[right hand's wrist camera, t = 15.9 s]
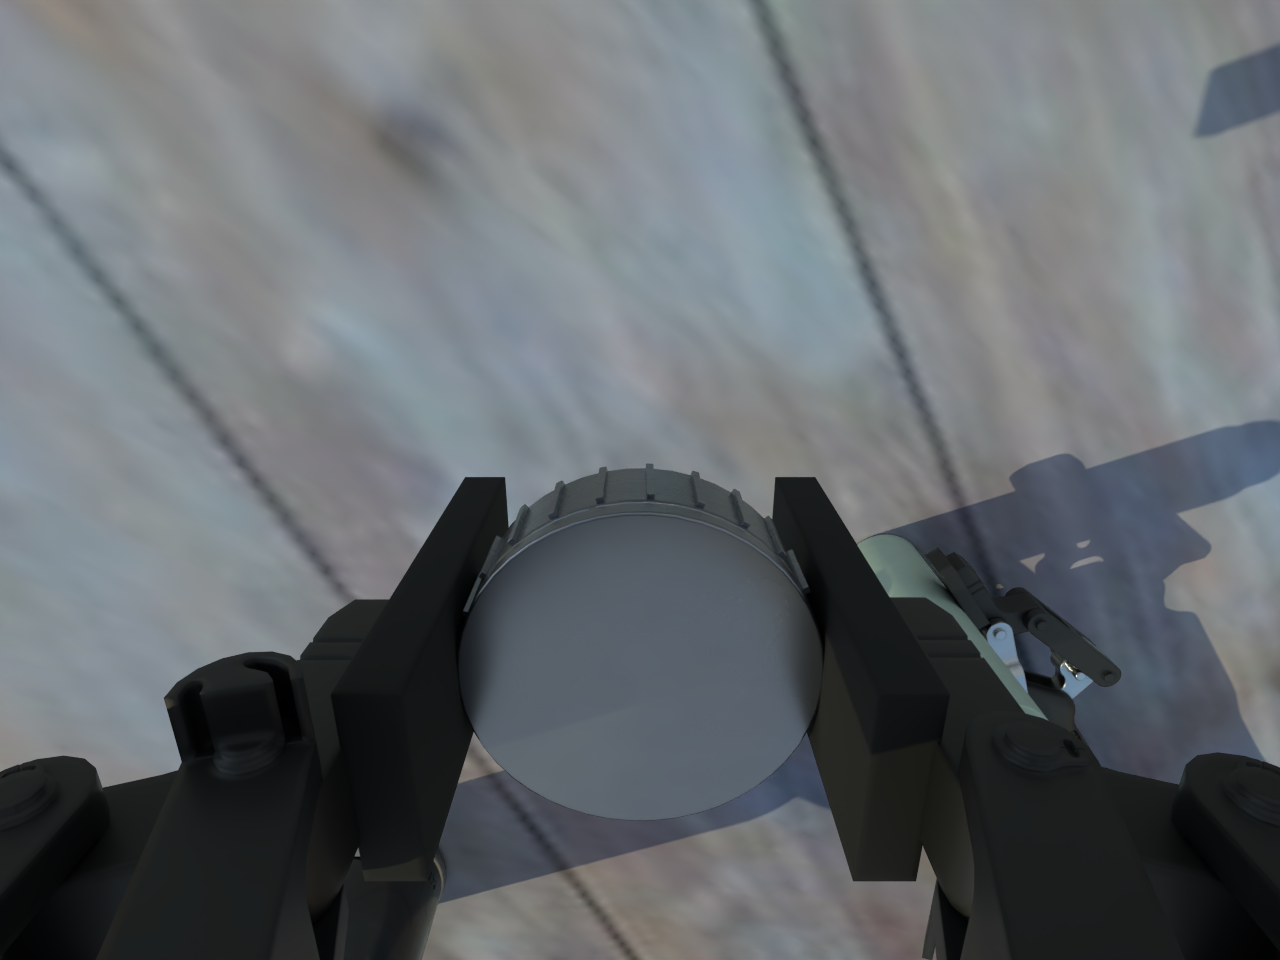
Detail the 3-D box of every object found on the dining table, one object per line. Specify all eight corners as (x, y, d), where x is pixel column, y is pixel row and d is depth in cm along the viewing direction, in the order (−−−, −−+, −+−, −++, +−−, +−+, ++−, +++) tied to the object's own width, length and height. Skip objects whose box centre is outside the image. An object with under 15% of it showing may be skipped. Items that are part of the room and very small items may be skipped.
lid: (502, 755, 13) (483, 835, 11) (451, 476, 11) (419, 522, 9) (804, 736, 13) (827, 814, 11) (804, 448, 11) (832, 493, 9)
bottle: (889, 519, 40) (1036, 711, 25) (934, 570, 41) (1101, 782, 26) (827, 566, 41) (932, 777, 26) (872, 615, 42) (999, 844, 27)
